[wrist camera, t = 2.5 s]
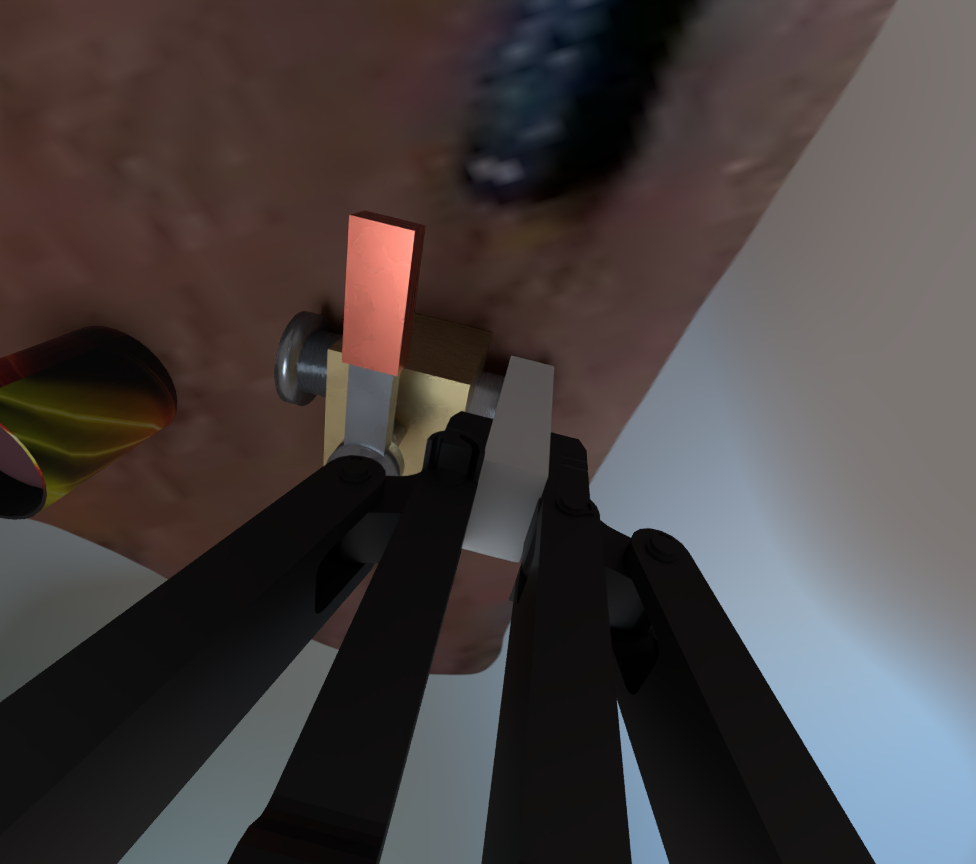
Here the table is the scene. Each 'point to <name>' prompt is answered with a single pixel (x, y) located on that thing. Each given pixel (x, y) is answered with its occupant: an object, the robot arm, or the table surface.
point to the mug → (75, 413)
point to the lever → (378, 332)
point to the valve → (422, 383)
